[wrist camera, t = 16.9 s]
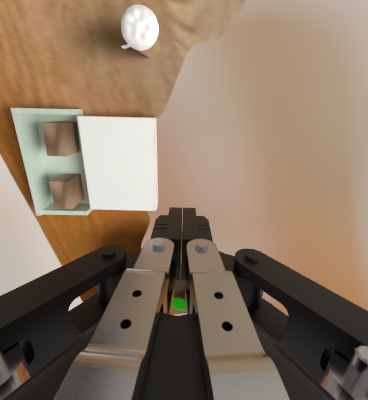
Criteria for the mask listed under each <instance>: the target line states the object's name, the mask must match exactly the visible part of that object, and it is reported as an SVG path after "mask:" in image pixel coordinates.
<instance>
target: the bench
mask: <svg viewBox="0 0 368 400" xmlns="http://www.w3.org/2000/svg"><path fill="white" fill-rule="evenodd" d="M77 119H78V126H79V133H80V140H81V147H82V154H83V161H84V167H85V174H86V181H87V188H88V195H89V202H90V209H99V210H141V211H156V209H157V206H158V175H157V129H156V117H117V116H77Z"/></svg>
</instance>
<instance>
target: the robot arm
mask: <svg viewBox="0 0 368 400" xmlns="http://www.w3.org/2000/svg"><path fill="white" fill-rule="evenodd" d="M181 234H182V269H181V280H184V281H185V299H186V310H187V314H186V315H182V316H174V315H170V314H171V308H172V302H173V296H174V287H175V282H176V280H180V263H181ZM95 286H96V287H97V294H95V295H94V296H92V297H90V298H89V299H87V300H86V301H84V302H83V303H81V304H80V305H78V306H76V307H75V308H73V309H72V310H70V311H68V309H69V306H70V304H71V302H72V301H73V300H74V299H75V298H77V297H79V296H80V295H82V294H83V293H85V292H87V291H88V290H90V289H92V288H93V287H95ZM263 291H264V292H266V293H267V294H268V295H270V296H271V297H273V298H274V299H276V300H277V301H279V302H280V303H281V304H283V305H284V307H285V308H286V309H287V311H288V314H289V317H288V316H287V315H285V314H284V313H283V312H281V311H280V310H278V309H277V308H276V307H274V306H273V305H272V304H270V303H269V302H267V301H266V300H265V299H263V298H262V295H263ZM0 400H368V311H366V310H365V309H363V308H361V307H359V306H357V305H355V304H354V303H352V302H350V301H348V300H346V299H345V298H343V297H341V296H339V295H338V294H336V293H334V292H332V291H330V290H328V289H326V288H325V287H323V286H321V285H319V284H318V283H316V282H314V281H312V280H310V279H309V278H307V277H305V276H303V275H301V274H299V273H298V272H296V271H294V270H292V269H290V268H289V267H287V266H285V265H283V264H281V263H280V262H278V261H276V260H274V259H272V258H271V257H269V256H267V255H265V254H263V253H261V252H260V251H257V250H254V249H241V250H239V251H237V252H236V254H235V256H231V255H227V254H224V253H222V252H220V251H218V248H217V246H216V244H215V243H213V241H212V236H211V231H210V226H209V221H208V220H207V219H206V218H205V217H204V216H196V211H195V208H183V229H182V208H170V210H169V215H161V216H159V217H158V218H157V219H156V221H155V225H154V229H153V232H152V236H151V239H150V240H148V241H147V242H146V243H145V244H144V246H143V248H142V250H141V251H138V252H134V253H128V254H126V251H125V249H124V248H123V247H121V246H117V245H109V246H104V247H101V248H99V249H97V250H95V251H93V252H91V253H89V254H87V255H84V256H82V257H80V258H78V259H76V260H74V261H72V262H70V263H68V264H66V265H64V266H62V267H60V268H58V269H55V270H53V271H51V272H49V273H47V274H45V275H43V276H41V277H39V278H37V279H35V280H33V281H31V282H29V283H26V284H24V285H22V286H20V287H18V288H16V289H14V290H12V291H10V292H8V293H6V294H4V295H2V296H0Z"/></svg>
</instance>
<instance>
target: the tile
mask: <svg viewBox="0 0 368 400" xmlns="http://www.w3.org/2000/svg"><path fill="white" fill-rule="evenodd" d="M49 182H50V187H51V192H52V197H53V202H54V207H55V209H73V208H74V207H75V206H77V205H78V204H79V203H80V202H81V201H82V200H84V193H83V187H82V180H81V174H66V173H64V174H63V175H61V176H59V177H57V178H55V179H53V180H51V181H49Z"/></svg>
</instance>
